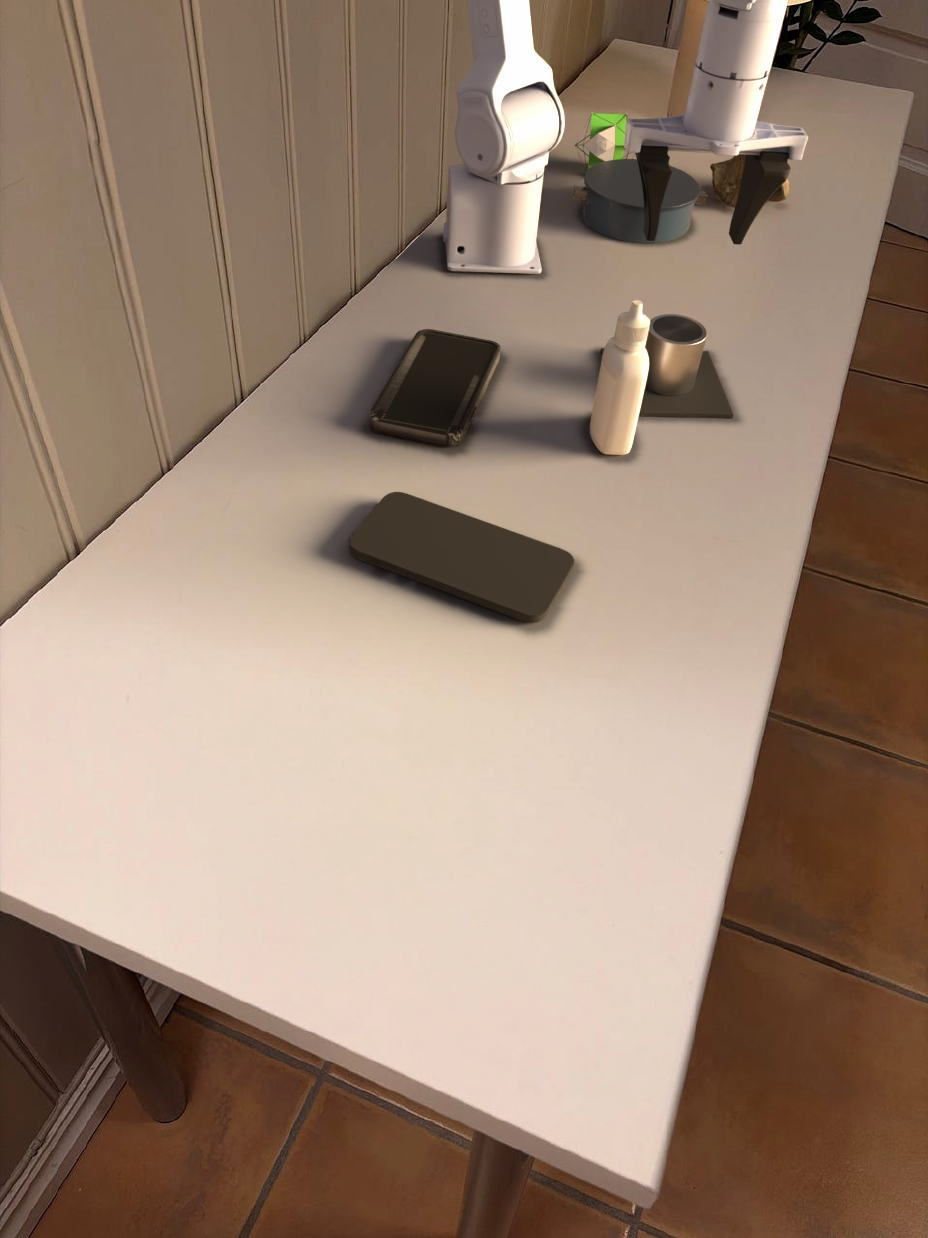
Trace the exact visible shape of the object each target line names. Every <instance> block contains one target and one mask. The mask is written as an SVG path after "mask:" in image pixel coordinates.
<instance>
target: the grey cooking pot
mask: <svg viewBox="0 0 928 1238" xmlns="http://www.w3.org/2000/svg"><path fill="white" fill-rule="evenodd" d="M670 168H671V170H672V174H671V177H670V180H669V183H668V186H667V189H666V192H665V196H664V199H663V203H662V207H661V213H660V219H659V226H658V232H657V235H656V239H655V241H647V240H646V237H645V234H644V231H643V228H644V199H643V190H642V183H641V177H640V172H639V167H638V162H637V158H627V159H626V158H623V159H617V160H609V161H605V162H601V163H598V164H596V165H594V166H592V167H590V168H589V169H588V168H587V169H586V171H585V174H584V177H583V178H584V179H583V183H584V186H576V185H575V186H573V193H572V196H573V199H574V200H583V204H582V210H581V216H582V218H583V221H584V222H585V223H586V224H587V225H588V226H589V228H591V229H593V230H595V231H596V232H597V233H600V234H603V235H604V236H607V237H610V238H612V239H616V240H620V241H624V242H630V243H638V244H658V243H666V242H671V241H675V240H678V239H679V238H681V237H682V236H684V235H685V234H686V233H688V230H689V228H690V225H691V220H692V217H693V211H694V207H695V204H696V205H697V204H698V205H705V204H706V201H707V197H708V194H707V192H706V191H703V190H701V186H700V184H699V182H698V181H697V180H696V179H695V178H694V177H693V176H692V175H690V174H689V173H687V172H686V171H684V170H682V169H679V168H677V167H675V166H672V165H670Z"/></svg>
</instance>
